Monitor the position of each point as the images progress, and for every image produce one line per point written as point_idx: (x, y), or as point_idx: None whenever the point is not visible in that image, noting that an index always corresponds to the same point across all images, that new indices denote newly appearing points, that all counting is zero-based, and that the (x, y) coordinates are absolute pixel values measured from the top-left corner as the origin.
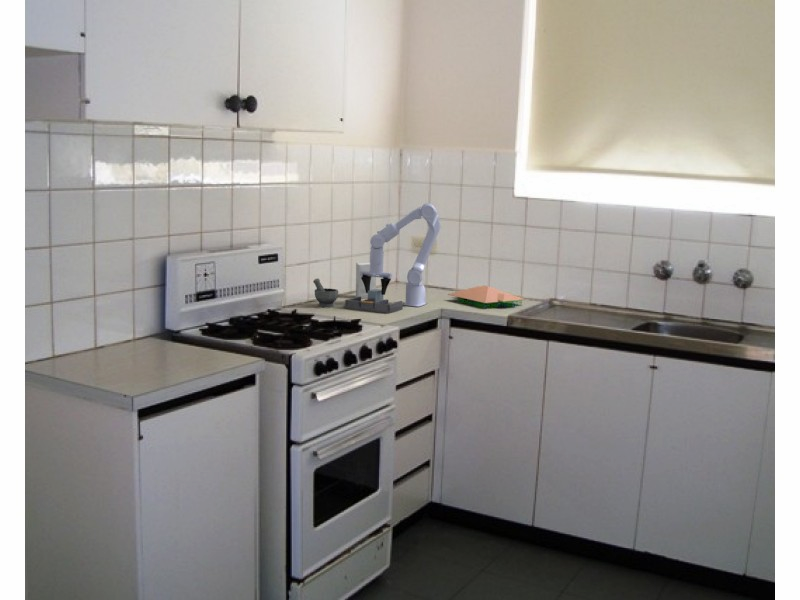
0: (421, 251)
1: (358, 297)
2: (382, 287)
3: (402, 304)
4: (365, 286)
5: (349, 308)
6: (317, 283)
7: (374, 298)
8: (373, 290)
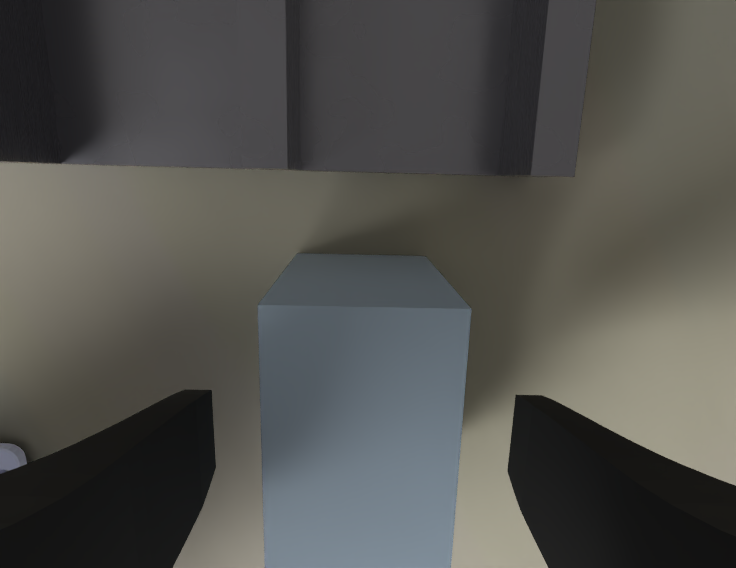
0: None
1: (542, 59)
2: (104, 449)
3: (2, 446)
4: (615, 445)
5: None
6: None
7: (244, 158)
8: (388, 422)
